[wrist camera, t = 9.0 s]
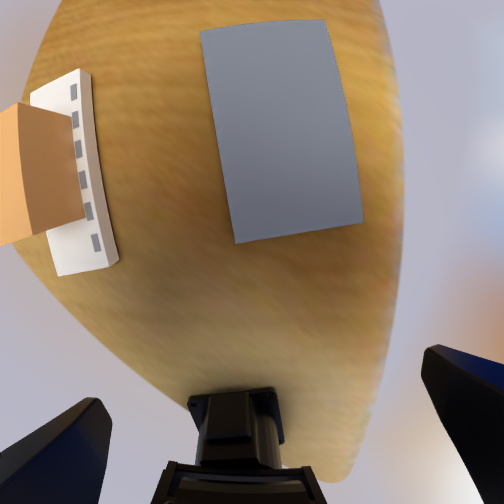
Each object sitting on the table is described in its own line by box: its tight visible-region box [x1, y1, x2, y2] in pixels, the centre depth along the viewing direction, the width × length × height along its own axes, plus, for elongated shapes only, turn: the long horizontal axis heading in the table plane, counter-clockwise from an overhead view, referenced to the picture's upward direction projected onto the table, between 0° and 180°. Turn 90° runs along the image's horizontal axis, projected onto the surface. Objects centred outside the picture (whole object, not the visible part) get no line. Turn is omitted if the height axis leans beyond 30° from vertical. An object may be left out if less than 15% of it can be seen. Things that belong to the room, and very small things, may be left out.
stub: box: [0, 68, 119, 276], centre depth 12 cm, size 12×4×6 cm, turn 9°
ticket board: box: [200, 20, 364, 244], centre depth 15 cm, size 12×7×2 cm, turn 9°
